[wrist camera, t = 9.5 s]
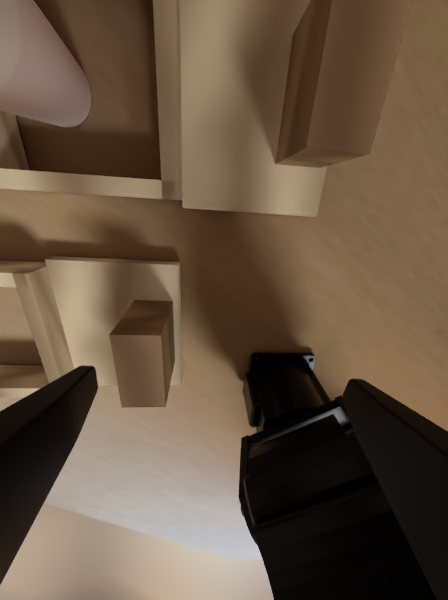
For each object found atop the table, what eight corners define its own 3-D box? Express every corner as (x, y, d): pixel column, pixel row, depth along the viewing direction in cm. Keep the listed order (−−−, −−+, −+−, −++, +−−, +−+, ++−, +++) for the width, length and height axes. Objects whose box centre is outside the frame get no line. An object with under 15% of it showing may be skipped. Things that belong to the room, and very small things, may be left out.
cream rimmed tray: (360, -22, 12) (486, -208, 7) (310, 215, 17) (359, 223, 11) (-60, -88, 10) (-362, -412, 5) (21, 197, 15) (-85, 196, 10)
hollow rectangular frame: (180, 261, 18) (167, 289, 12) (182, 377, 23) (173, 434, 17) (-109, 249, 16) (-273, 274, 11) (-39, 377, 21) (-127, 440, 15)
